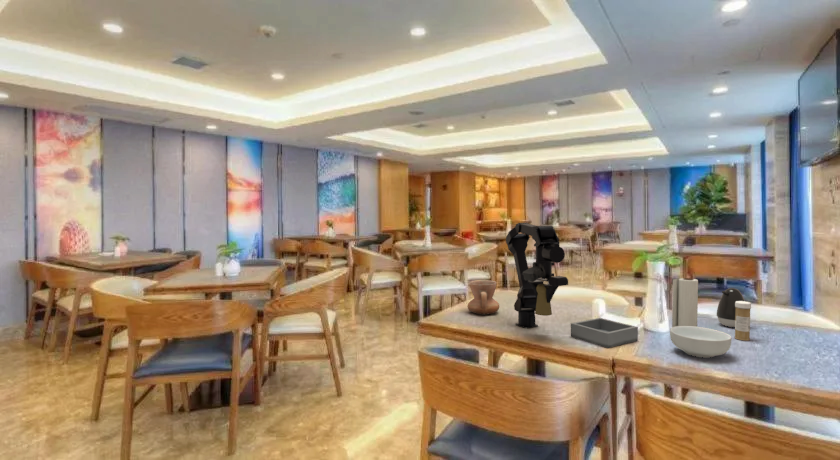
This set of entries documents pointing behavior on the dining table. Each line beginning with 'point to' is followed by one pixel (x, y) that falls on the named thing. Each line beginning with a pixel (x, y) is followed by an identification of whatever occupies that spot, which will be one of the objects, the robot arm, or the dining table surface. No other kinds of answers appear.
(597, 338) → the tray
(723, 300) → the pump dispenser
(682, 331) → the cereal bowl
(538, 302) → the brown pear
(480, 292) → the ceramic jug
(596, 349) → the dining table surface
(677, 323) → the grey tall block
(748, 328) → the sprinkles bottle
